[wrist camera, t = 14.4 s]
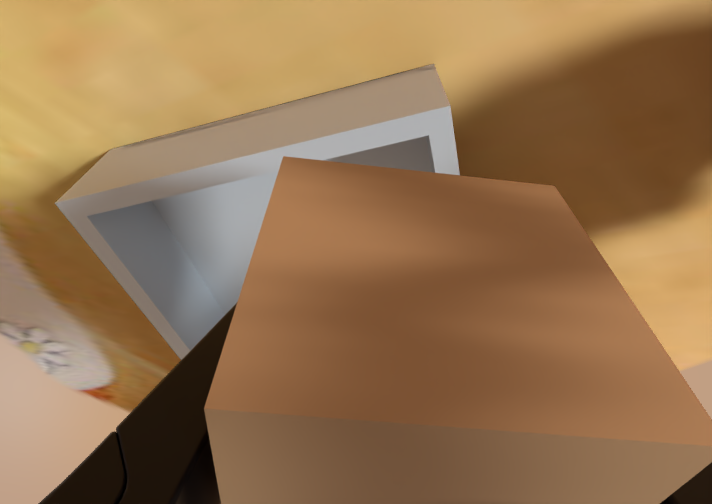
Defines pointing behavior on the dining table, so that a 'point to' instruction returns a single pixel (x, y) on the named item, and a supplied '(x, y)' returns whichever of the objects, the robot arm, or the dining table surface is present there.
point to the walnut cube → (441, 353)
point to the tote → (239, 190)
